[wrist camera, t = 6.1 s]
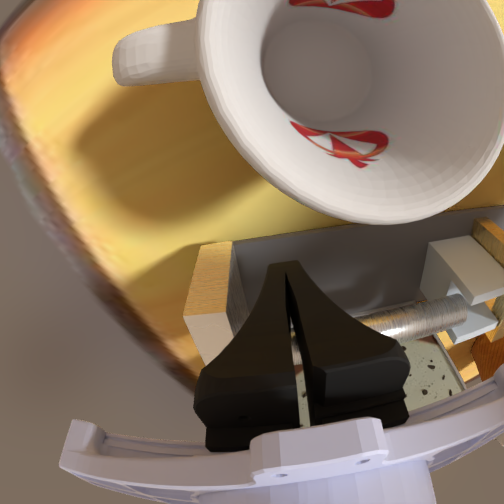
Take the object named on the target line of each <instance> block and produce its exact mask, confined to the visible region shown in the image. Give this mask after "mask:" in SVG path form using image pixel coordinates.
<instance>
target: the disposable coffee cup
mask: <svg viewBox="0 0 504 504" xmlns="http://www.w3.org/2000/svg"><path fill="white" fill-rule="evenodd" d="M471 353H472V355H473V358H474V360H475V363H476V365H477V368H478V371H479V374H480V377H481V380H482V382H483V381H485V380H487V379H489V378H491V377H493V376H494V374H495V372H496V370H497V369H498V368H499V367H500V366H501V365H502V364H504V336H503V337H502V338H500V339H498V340H496V341H494V342H490V340H489V339H488V337H487V336H486V334H485V333H483V334H481V335H480V336H479V337H478V338H477V340H476V341H475V343H474V345H473V347H472V350H471ZM497 439H498V441H499V442H500V443H501V445H502V446H504V432H503V433H502V434H500V435H499V436H497V437H495V440H497Z"/></svg>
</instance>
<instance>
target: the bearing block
mask: <svg viewBox="0 0 504 504" xmlns="http://www.w3.org/2000/svg"><path fill="white" fill-rule="evenodd" d="M420 290H421V291H422V293H423V294H424V296H425V297H426V299H427V301H430V300H434V299H438V298H441V297H445V296H449V295H452V294H456V293H459V294H461V295H462V296H463V297H464V299H465V301H466V304H467V309H468V315H467V319H466V322H465V323H464V324H463V325H461V326H458V327H455V328H452V329H449V330H446V332H447V333H448V335H449V337H450V338H451V340H452V342H453V344H454V345H455V344H457V343H460V342H463V341H465V340H468V339H471V338H473V337H476V336H478V335H481V334H483V333H486V332H488V331H490V330H493V329H495V328H496V326H497V324H498V322H499V321H498V320H497V318H496V317H495V316H494V314H493V313H492V312H491V310H490V309H489V307H488V306H487V305H486V303H485V302H484V301H487V300H490V299H493V298H495V297H498V296H501V295H503V294H504V269H503V268H502V267H501V265H500V264H499V263H498V262H497V261H496V260H495V259H494V258H493V257H492V256H491V255H490V254H489V253H488V252H487V251H486V250H485V249H484V248H483V247H482V246H481V245H480V244H479V243H478V242H476V241H475V240H474V239H473V238H472V237H471V236H470V235H467V236H462V237H456V238H450V239H445V240H439V241H433V242H429V243H428V249H427V255H426V260H425V265H424V270H423V275H422V279H421V284H420Z"/></svg>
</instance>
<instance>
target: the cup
mask: <svg viewBox="0 0 504 504" xmlns="http://www.w3.org/2000/svg"><path fill="white" fill-rule="evenodd" d="M112 67H113V76H114V78H115V80H116V82H117V83H118V84H119V85H121V86H142V85H152V84H161V83H171V82H182V81H194V80H200V81H201V85H202V88H203V91H204V93H205V96H206V99H207V101H208V104H209V106H210V108H211V110H212V112H213V114H214V116H215V118H216V120H217V122H218V123H219V125H220V127H221V128H222V130H223V132H224V133H225V135H226V136H227V137H228V139H229V140H230V142H231V143H232V144H233V146H234V147H235V148H236V150H237V151H238V152H239V153H240V154H241V156H242V157H243V158H244V159H245V160H246V161H247V162H248V163H249V164H250V165H251V166H252V167H253V168H254V170H255V171H257V172H258V173H259V174H260V175H261V176H262V177H264V178H265V179H266V180H267V181H268V182H269V183H270V184H272V185H273V186H274V187H276V188H277V189H279V190H280V191H281V192H283V193H284V194H286V195H287V196H289V197H291V198H292V199H294V200H296V201H297V202H299V203H301V204H303V205H305V206H307V207H309V208H311V209H313V210H315V211H317V212H320V213H323V214H325V215H328V216H331V217H334V218H338V219H341V220H345V221H349V222H355V223H361V224H370V225H394V224H403V223H409V222H413V221H418V220H422V219H425V218H428V217H430V216H433V215H435V214H437V213H440V212H442V211H444V210H446V209H447V208H449V207H451V206H453V205H454V204H456V203H457V202H459V201H460V200H461V199H463V198H464V197H465V196H467V195H468V194H469V193H470V192H471V191H472V190H473V189H474V188H475V187H476V186H477V185H478V184H479V183H480V182H481V181H482V180H483V178H484V177H485V176H486V175H487V173H488V172H489V171H490V169H491V167H492V166H493V164H494V162H495V161H496V159H497V157H498V156H499V153H500V151H501V149H502V146H503V144H504V36H503V33H502V30H501V28H500V25H499V23H498V21H497V19H496V17H495V15H494V13H493V11H492V9H491V8H490V6H489V4H488V2H487V1H486V0H200V1H199V4H198V9H197V14H196V17H195V18H193V19H191V20H186V21H181V22H175V23H170V24H164V25H159V26H155V27H151V28H147V29H143V30H140V31H137V32H134V33H132V34H130V35H127V36H126V37H124V38H123V39H122V40H120V41H119V42H118V43H117V45H116V46H115V48H114V51H113V57H112Z"/></svg>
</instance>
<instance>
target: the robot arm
mask: <svg viewBox="0 0 504 504" xmlns="http://www.w3.org/2000/svg"><path fill="white" fill-rule="evenodd" d="M290 317H291V319H290ZM291 321H292V324H293V328H294V332H295V336H296V340H297V344H298V348H299V352H300V355H301V360H302V366H303V373H304V380H305V387H306V395H307V403H308V411H309V420H310V427H304V428H300V417H299V404H298V393H297V383H296V375H295V368H294V361H293V354H292V348H291ZM410 369H411V366H410V362H409V360H408V357H407V355H406V353H405V352H404V350H403V348H402V347H401V345H400V344H399V342H398V341H397V340H396V339H394V338H391V337H389V336H387V335H384V334H382V333H380V332H377V331H375V330H374V329H372V328H370V327H368V326H366V325H364V324H363V323H361V322H360V321H358V320H356V319H355V318H353V317H352V316H350V315H349V314H348V313H346V312H345V311H344V310H342V309H341V308H340V307H339V306H338V305H336V304H335V303H334V302H333V301H332V300H331V299H330V298H329V297H328V296H327V295H326V294H325V293H324V292H323V291H322V290H321V289H320V288H319V287H318V286H317V285H316V283H315V282H314V281H313V280H312V279H311V277H310V276H309V275H308V274H307V272H306V271H305V269H304V268H303V266H302V265H301V263H300V262H299V261H298V260H293V261H286V262H279V263H272V264H269V265H268V266H267V273H266V277H265V280H264V283H263V286H262V289H261V291H260V294H259V296H258V299H257V301H256V303H255V305H254V307H253V309H252V311H251V313H250V314H249V316H248V318H247V319H246V321H245V323H244V324H243V326H242V327H241V328H240V330H239V331H238V333H237V334H236V335H235V337H234V338H233V339H232V340H231V341H230V343H229V344H228V345H227V346H226V347H225V348H224V349H223V350H222V351H221V353H220V354H219V355H218V356H216V357H215V358H214V359H213V360H212V361H211V362H210V363H209V364H208V365H206V366H205V367H204V368H203V369H202V370H201V373H200V376H199V379H198V382H197V385H196V389H195V397H194V406H193V408H194V410H195V413H196V414H197V416H198V417H199V418H200V419H201V421H202V422H203V423H204V425H205V426H206V427H207V428H206V440H205V442H195V441H174V440H161V439H150V438H141V437H133V436H126V435H119V434H113V433H107V432H105V431H104V430H103V429H102V428H101V427H100V426H98V425H96V424H94V423H91V422H86V421H82V420H76V419H73V420H72V422H71V425H70V428H69V431H68V435H67V438H66V441H65V444H64V448H63V451H62V455H61V458H60V462H59V467H60V468H62V469H64V470H66V471H67V472H69V473H71V474H73V475H75V476H77V477H79V478H81V479H83V480H85V481H87V482H89V483H91V484H93V485H95V486H99V487H102V488H106V489H109V490H113V491H116V492H120V493H123V494H127V495H131V496H135V497H139V498H144V499H148V500H153V501H158V502H163V503H168V504H437V503H436V499H435V494H434V490H433V486H432V481H431V478H430V472H433V471H435V470H437V469H439V468H441V467H443V466H446V465H448V464H450V463H451V462H453V461H455V460H457V459H459V458H461V457H463V456H465V455H467V454H469V453H470V452H472V451H474V450H475V449H477V448H479V447H481V446H482V445H484V444H486V443H487V442H489V441H491V440H492V439H494V438H495V437H497V436H499V435H500V434H502V433H503V432H504V364H502V365H501V366H500V367H499V368H498V369H497V370H496V372H495V374H494V376H493V377H491V378H489V379H487V380H485V381H483V382H481V383H479V384H477V385H475V386H473V387H471V388H468V389H466V390H464V391H462V392H459V393H457V394H455V395H452V396H450V397H447V398H445V399H442V400H440V401H437V402H435V403H432V404H429V405H426V406H424V407H421V408H418V409H415V410H412V411H409V412H408V410H407V407H406V404H405V401H404V399H405V397H406V395H405V392H404V389H403V386H404V384H405V382H406V379H407V377H408V375H409V373H410Z"/></svg>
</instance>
